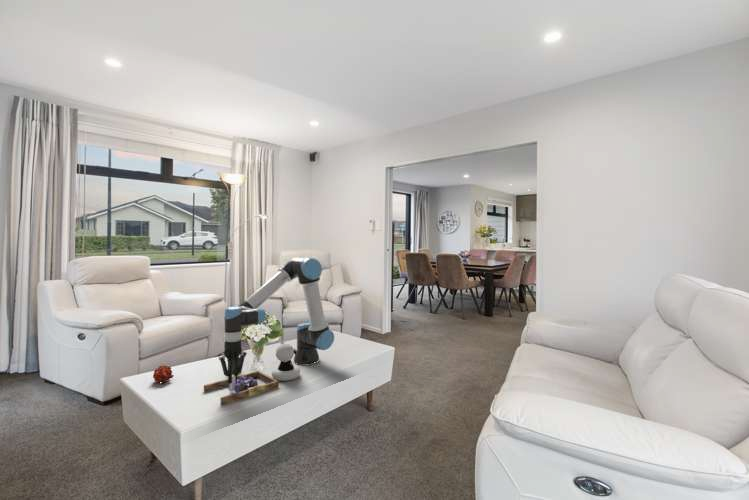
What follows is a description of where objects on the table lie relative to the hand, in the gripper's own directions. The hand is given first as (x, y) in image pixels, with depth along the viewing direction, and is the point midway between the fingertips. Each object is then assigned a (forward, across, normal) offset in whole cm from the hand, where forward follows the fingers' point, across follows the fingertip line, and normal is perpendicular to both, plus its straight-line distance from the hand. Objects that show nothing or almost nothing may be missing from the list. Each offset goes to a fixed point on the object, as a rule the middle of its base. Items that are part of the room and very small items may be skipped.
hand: (232, 389), depth 167 cm
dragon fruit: (+2, +19, -37) cm, 42 cm away
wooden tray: (+1, -5, 0) cm, 5 cm away
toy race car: (+2, -5, -1) cm, 6 cm away
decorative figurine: (+2, -29, +1) cm, 29 cm away
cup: (+2, -12, -23) cm, 26 cm away
